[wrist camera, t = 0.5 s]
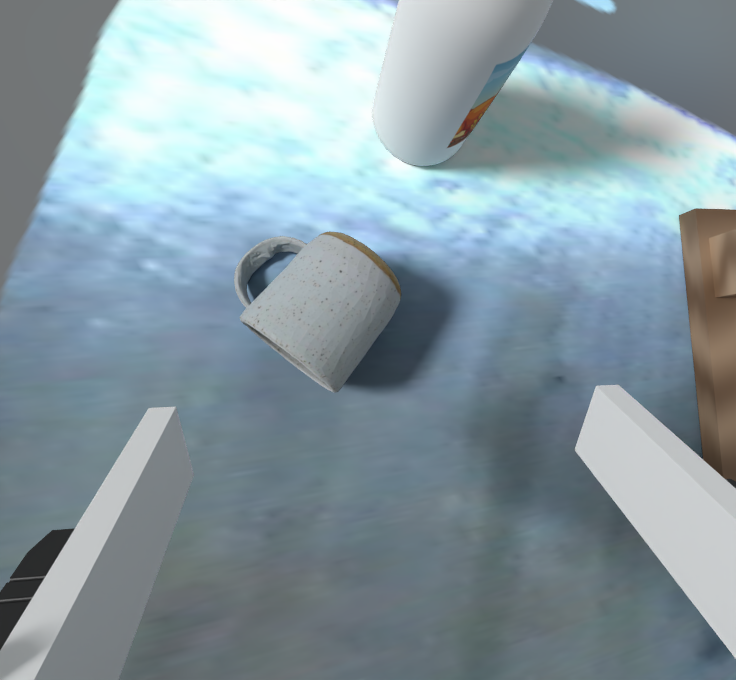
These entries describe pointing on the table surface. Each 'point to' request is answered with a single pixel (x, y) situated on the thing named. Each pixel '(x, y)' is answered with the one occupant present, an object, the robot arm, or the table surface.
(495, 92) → the milk bottle
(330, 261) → the ceramic mug
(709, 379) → the brown piece
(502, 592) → the table surface
